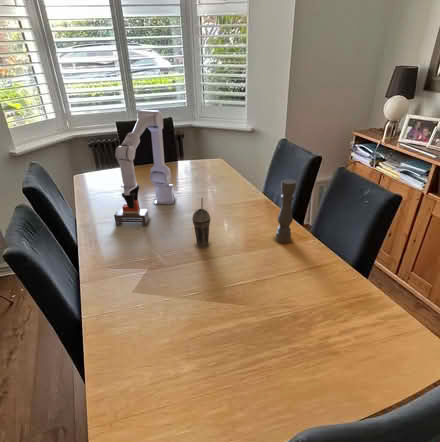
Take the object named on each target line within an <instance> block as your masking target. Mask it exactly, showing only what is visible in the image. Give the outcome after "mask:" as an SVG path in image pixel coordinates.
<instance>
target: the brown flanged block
mask: <svg viewBox="0 0 440 442" xmlns="http://www.w3.org/2000/svg"><path fill="white" fill-rule="evenodd" d="M113 217H114V218H113V219H114V221H115V222H114V223H115V226H120V224H121V223H134V224H135V223H136V224H137V223H139V224H140V223H142V224H143V226H147V224H148V222H149V220H150V218H149V217H150V216H149V210H148V209H147V208H140V211H139V213H138V214H123V208H122V209H121V208H118V209H117V210H116V212H115V213H114V215H113Z"/></svg>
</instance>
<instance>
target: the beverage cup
mask: <svg viewBox="0 0 440 442" xmlns="http://www.w3.org/2000/svg"><path fill="white" fill-rule="evenodd" d="M200 199H201V203H200V204H201V207H200V208H199V209H196V210H195V211H194V213H193V214H192V224H193V227H194V234H195V241H196V246H197V247H198V248H200V249H201V248H208V246H209V240H210V239H209V238H210V237H209V236H210V224H211V216H210V212H208V211H207V210H206V209H204V208H203V205H204V198H203V197H201V198H200Z"/></svg>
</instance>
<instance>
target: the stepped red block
mask: <svg viewBox="0 0 440 442" xmlns="http://www.w3.org/2000/svg"><path fill="white" fill-rule="evenodd" d="M139 203H140V202H139V199H138V200H134V208H129V207H128V205H127V203H124V204H123V205H122V209H123V214H138V213H139V211H140V209H141V207H140V204H139Z"/></svg>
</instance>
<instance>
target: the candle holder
mask: <svg viewBox="0 0 440 442" xmlns="http://www.w3.org/2000/svg"><path fill="white" fill-rule="evenodd" d="M296 190H297V180H295V179H293V178H284V179H282V180H281V181H280V191H281V195H280V199H281V208H280V210H279V213H278V215H277V222H278V227H277V228H276V232H275V241H276V242H278V243H280V244H287V243H290V242H291V239H292V238H291V237H292V232H291V231H292V229H291V227H290V226H291V225H292V223H293V220H294V218H293V211H292V209H293V208H292V205H293V204H292V203H293V200H294V199H295V195H294V194H295V192H296Z"/></svg>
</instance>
